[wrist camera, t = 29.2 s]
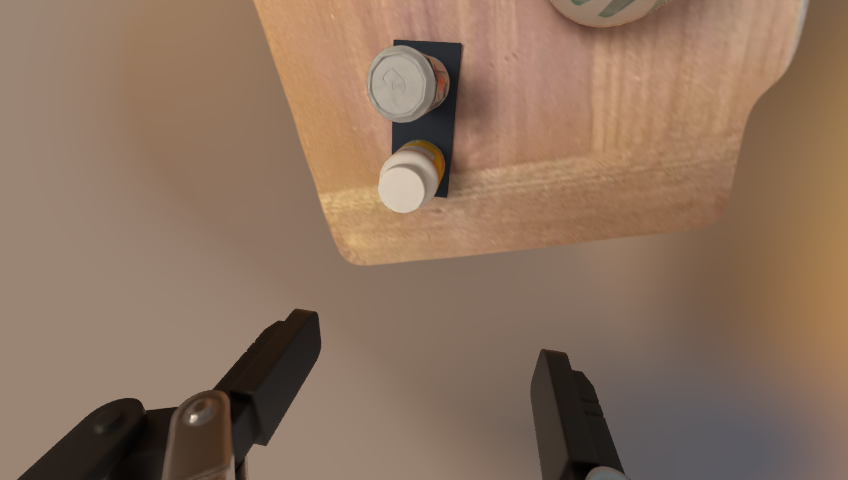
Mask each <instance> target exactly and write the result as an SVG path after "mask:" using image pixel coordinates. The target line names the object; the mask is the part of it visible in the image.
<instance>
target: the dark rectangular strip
mask: <svg viewBox="0 0 848 480" xmlns="http://www.w3.org/2000/svg"><path fill="white" fill-rule="evenodd" d="M398 45H402V46H408V47H411V48H413V49H415V50H417V51H419V52H421V53H423V54H426V55H428V56H431V57H434V58H436V59H437V60H439V61H440V62H441V63H442V64H443V65H444V67H445V68H446V70H447V72H448V76H449V91H448V94H447V96H446V98H445V99H444V101H443V102H442V103H441V104H440V105H439V106H438V107H436V108H435V109H433V110H431V111H430V112H428V113H426V114H425V115H423V116H421V117H420V118H418V119H416V120H413V121H411V122H404V123H399V122H393V121H392V155H393V154H394V153H395V152H396V151H397V150H399V149H400V148H401V147H402V146H403V145H405V144H406V143H408V142H410V141H413V140H426V141H429V142H431V143H433V144H434V145H435V146H437V147H438V148H439V150H440V151H441V153H442V154H443V157H444V161H445V170H444V174H443V177H442V179H441V181H440V184H439V186H438V189H437V191H436V193H435V195H434V196H436V197H445V198H447V193H448V182H449V171H450V161H451V150H452V139H453V129H454V118H455V107H456V97H457V86H458V75H459V65H460V54H461V43H446V42H427V41H408V40H394V46H398Z"/></svg>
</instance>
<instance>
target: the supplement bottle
mask: <svg viewBox="0 0 848 480" xmlns="http://www.w3.org/2000/svg"><path fill="white" fill-rule="evenodd" d="M444 170H445V161H444V157H443V154H442V153H441V151H440V150H439V148H438V147H437V146H435V145H434V144H433V143H431V142H429V141H426V140H413V141H410V142H408V143H406V144H405V145H403V146H402V147H401V148H400V149H399V150H397V151H396V152H395V153H394V154H393V155H391V156H390V157H389V158H388V159H387V160H386V162H385V163H384V165H383V166H382V169H381V172H380V181H379V185H378V191H379V196H380V198H381V200H382V202H383V203H384V204H385V205H386V206H387V207H388V208H389V209H391V210H393V211H395V212H398V213H408V212H411V211H414V210H415V209H417V208H420V207H422V206H424V205H426V204H427V203H428V202H430V200H431V199H432V198H433V197H434V195H435V193H436V191H437V189H438V186H439V184H440V181H441V179H442V177H443V174H444Z"/></svg>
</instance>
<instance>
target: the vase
mask: <svg viewBox="0 0 848 480" xmlns="http://www.w3.org/2000/svg"><path fill="white" fill-rule="evenodd" d="M549 1H550V2H551V3H552V5H553V6H554V7H555V8H556V9H557V10H558V11H559V12H560V13H561V14H562V15H564V16H565V17H567V18H568V19H570V20H572V21H574V22H576V23H578V24H581V25H585V26H590V27H613V26H619V25H623V24H626V23H629V22H632V21H635V20H638V19H640V18H642V17H645V16H647V15H649V14H650V13H652V12H654V11H656V10H657V9H659V8H660V7H662V6H663V5H665V4H667V3H668V2H670V1H671V0H549Z"/></svg>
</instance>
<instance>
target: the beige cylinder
mask: <svg viewBox="0 0 848 480" xmlns="http://www.w3.org/2000/svg"><path fill="white" fill-rule="evenodd" d="M367 90H368V95H369V98H370V100H371V102H372V105H373V106H374V107H375V109H376V110H377V111H378V112H379V113H380V114H381V115H382V116H383V117H385V118H387V119H389V120H391V121H393V122H399V123H404V122H411V121H413V120H416V119H418V118H420V117H421V116H423V115H425V114H426V113H428V112H430V111H431V110H433V109H435V108H436V107H438V106H439V105H440V104H441V103H442V102H443V101H444V99H445V98H446V96H447V94H448V91H449V76H448V72H447V70H446V68H445V67H444V65H443V64H442V63H441V62H440V61H439V60H437V59H436V58H434V57H431V56H428V55H426V54H423V53H421V52H419V51H417V50H415V49H413V48H411V47H408V46H402V45H398V46H392V47H389V48H387V49H385V50H383V51H382V52H380V53H379V54H378V55H377V56H376V57H375V59H374V60H373V62H372V64H371V65H370V68H369V71H368V75H367Z"/></svg>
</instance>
